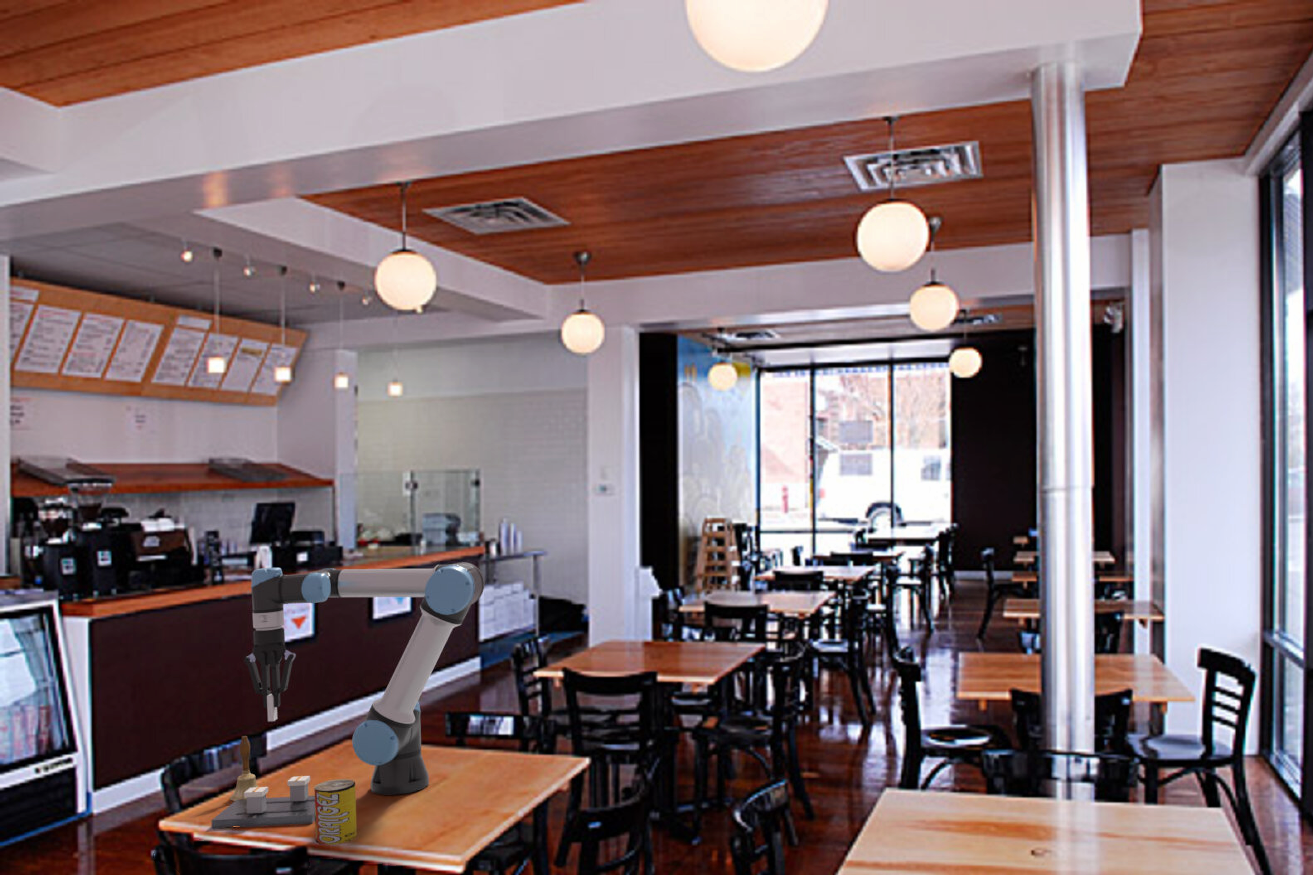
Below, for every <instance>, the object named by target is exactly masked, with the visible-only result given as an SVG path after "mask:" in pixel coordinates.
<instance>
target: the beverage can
mask: <svg viewBox="0 0 1313 875" xmlns="http://www.w3.org/2000/svg"><path fill="white" fill-rule="evenodd" d="M314 796H315V821H314V822H315V824H314V825H315V828H314V829H315V842H316V843H318V844H319V845H324V846H325V845H328V846H329V845H338V844H344V843H347V842H349V840H350V841H353V840H354V839H355V838H356V837H357V836H358V834H357V833H358V832H357V829H358V828H357V803H356V802H357V801H356V797H357V796H356V781H355V780H353V779H349V778H348V779H347V778H343V779H340V778H339V779H332V780H327V781H323V782H319V783H318V784H316V785H314ZM356 835H357V836H356Z"/></svg>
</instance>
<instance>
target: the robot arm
mask: <svg viewBox="0 0 1313 875" xmlns="http://www.w3.org/2000/svg"><path fill="white" fill-rule="evenodd" d="M485 585H486V584H485V577H484V575H483V573H482V571H481V570H480V569H479V568H478V567H477V566H476V565H474V564H472V563H470V562H465V561H461V562H455V563H452V564H449V563H448V564H437V565H436V566H434V567H433V568H365V569H364V568H362V569H360V568H352V569H351V568H349V569H348V568H344V569H338V568H337V569H336V568H330V567H329V568H321V569H319V570H314V571H311V572H306V573H297V574H283V570H282V568H281V567H263V568H256V569H255V570H253V571H252V572H251V586H250V589H251V599H252V600H251V602H252V626H253V628H254V630H253V649H252V653H251V654H249V655H248V656H245V657H244V658H243V662H244V663H245V665H246V666H247V668H248V673H249V675H250V678H251V679H250V680H251V681H252V686H253V688H254V692H255V694H257V695H258V694H260V695H262V698H263V699H262V702H263V708H264V709H267V722H276V720H278V708H279V707H280V706H281V693H283V692H285V691H286V690H287V689H288V687H289V682H290V677H291V671H292V667H293V662H294V660H295V659H296V657H297V653H296V652H291V651H289V650H288V648H287V646H286V638H285V636H286V633H285V628H284V627H283V626H284V625H285V616H284V615H285V614H284V605H289V604H315V603H325V602H326V601H327V600H328V598H422V601H421V603H420V605H419V608H420V611H421V616H420V618H419V620H418V623H417V625H416V626H415V629H414V631H413V633H412V634H411V637H410V639H409V641H408V643H407V645H406V647H405V649H404V652H403V653H402V655H401V658H400V659H399V661H398V664H397V666H396V668H395V670H394V671H393V674H392V676H391V678H390V680H389V683H388V684H387V687H386V688H385V691H384V693H383V695H382V697H381V698H378V699H375V700H374V701H373V702H372V704H371V706H370V708H369V710H368V712H367V714H366V716H365V717H364V720H363V722H361V723H360V724H359V725H358V726H357V727H356V729H355V730H354V732H353V735H352V739H351V740H352V741H351V743H352V744H351V745H352V748H353V751H354V753H355V755H356V757H357V758H358V759H359V760H360V761H361V762H363V763H365V764H366V765H369V766H374V769H373V771H372V775H371V776H372V777H371V780H370V791H371V792H372V793H373V794H377V795H384V796H385V795H386V796H392V795H393V796H396V795H405V794H410V793H414V792H418V791H420V790H424V789H425V788H427V787H428V786H429V783H430V776H429V772H428V768H427V767H426V764H425V761H424V758H423V755H422V734H421V733H422V731H421V730H422V729H421V713H422V711H421V708H420V702H419V699H420V697H421V695H422V693H423V691H424V689H425V688H426V685H427V683H428V681H429V679H430V677H431V675H432V672H433V670H434V669H435V666H436V665H437V663H438V660H439V658H440V657H441V653H442V652H443V650H444V647H445V645H446V643H447V642H448V640H449V637H450V635H451V633H452V632H453V629H454V628H456V627H459V626H461V625H462V624H463V622H464V620H465V617H466V616H467V614H468V612H469V610H470V608H471V606H472V605H474V604H475V603H476V602H477V601H479V599H481V597H482V595H483V593H484V590H485ZM283 658H284V660H285V661H284V665H283V671H282V676H281V670H280V668H281V667H280V666H281V661H282V659H283ZM256 660H257V661H258V663H260V670H261V677H260V673H259V670H258V666H257V663H256ZM270 669H271V673H270ZM270 675H271V676H270ZM271 685H272V690H271ZM426 786H427V787H426ZM417 790H418V791H417Z"/></svg>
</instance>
